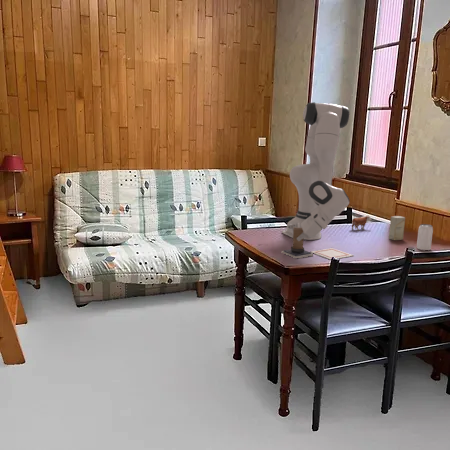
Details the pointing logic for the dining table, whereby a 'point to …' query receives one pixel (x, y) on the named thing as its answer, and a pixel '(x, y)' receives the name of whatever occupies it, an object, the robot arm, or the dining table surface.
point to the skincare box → (396, 228)
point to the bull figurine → (360, 222)
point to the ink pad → (297, 253)
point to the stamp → (297, 244)
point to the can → (424, 237)
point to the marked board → (331, 253)
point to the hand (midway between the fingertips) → (296, 238)
